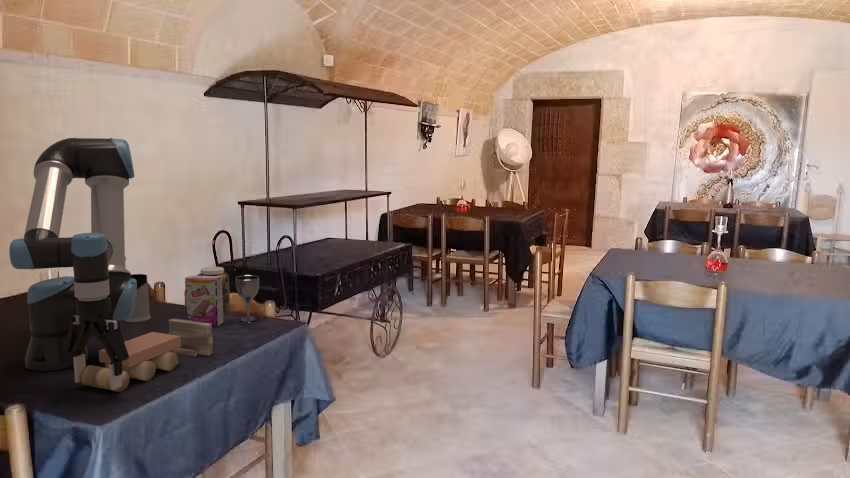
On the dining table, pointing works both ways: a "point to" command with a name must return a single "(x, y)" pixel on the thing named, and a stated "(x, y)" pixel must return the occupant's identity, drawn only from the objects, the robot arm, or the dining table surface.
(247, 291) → the wine glass
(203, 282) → the candy bar box
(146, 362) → the roller rack
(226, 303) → the jar
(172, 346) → the slab
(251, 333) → the dining table surface
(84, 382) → the roller loose
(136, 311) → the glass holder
